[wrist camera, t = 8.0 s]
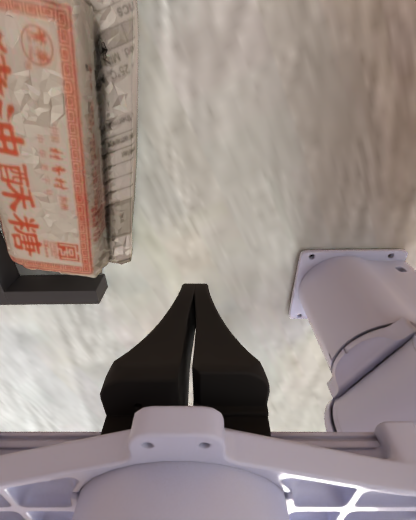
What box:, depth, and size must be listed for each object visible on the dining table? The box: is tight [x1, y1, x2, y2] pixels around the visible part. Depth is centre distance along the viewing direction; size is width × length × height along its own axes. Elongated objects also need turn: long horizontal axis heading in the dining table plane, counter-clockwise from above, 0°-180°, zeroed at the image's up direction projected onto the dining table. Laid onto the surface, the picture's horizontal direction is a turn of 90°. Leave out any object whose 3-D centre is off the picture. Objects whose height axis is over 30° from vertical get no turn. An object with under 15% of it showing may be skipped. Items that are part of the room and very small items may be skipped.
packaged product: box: [0, 0, 138, 278], centre depth 18 cm, size 18×5×10 cm
